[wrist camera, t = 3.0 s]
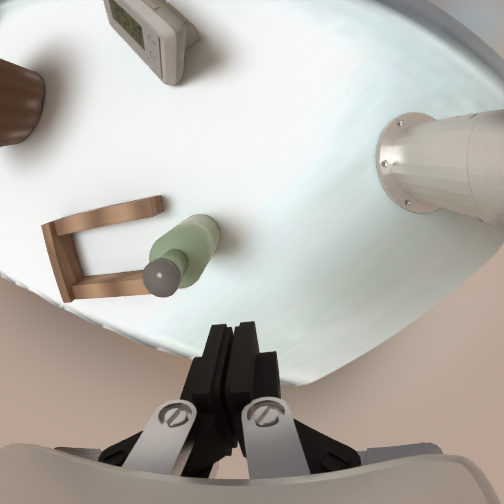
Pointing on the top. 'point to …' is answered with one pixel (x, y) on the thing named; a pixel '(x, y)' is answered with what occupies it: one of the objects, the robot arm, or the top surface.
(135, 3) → the digital clock
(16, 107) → the plant pot
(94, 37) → the top surface
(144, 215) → the rest
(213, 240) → the bottle
